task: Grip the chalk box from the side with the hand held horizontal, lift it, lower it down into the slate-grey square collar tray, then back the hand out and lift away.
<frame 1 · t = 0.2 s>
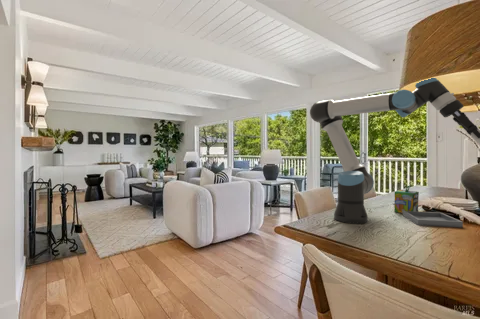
collar tray: (430, 221, 118), on the table
chalk box: (406, 212, 135), on the table
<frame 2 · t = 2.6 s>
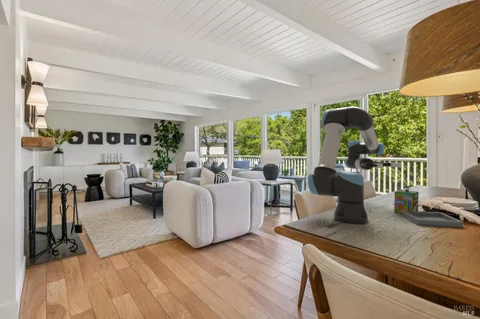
hand: (391, 165, 144), 25 cm above the table, tool horizontal, fingers open, 13 cm apart
nothing on the table moved.
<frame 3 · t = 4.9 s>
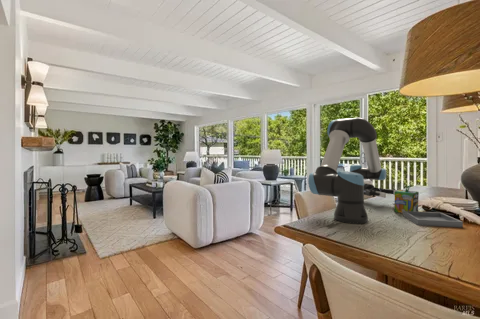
hand: (394, 194, 142), 8 cm above the table, tool horizontal, fingers open, 13 cm apart
nothing on the table moved.
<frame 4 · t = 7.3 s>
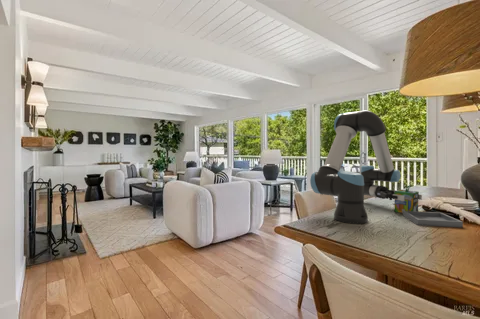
hand: (412, 197, 131), 9 cm above the table, tool horizontal, fingers closed on chalk box, 11 cm apart
chalk box: (406, 212, 135), on the table, touching gripper
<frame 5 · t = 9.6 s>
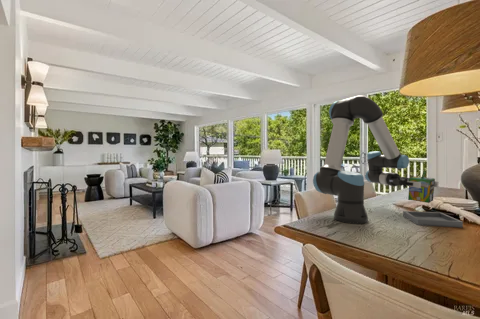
hand: (429, 184, 122), 17 cm above the table, tool horizontal, fingers closed on chalk box, 11 cm apart
chalk box: (420, 200, 126), point 8 cm above the table, touching gripper
when the fingers open (10 cm above the table, at t = 12.2 s): chalk box drops 1 cm, resting on collar tray.
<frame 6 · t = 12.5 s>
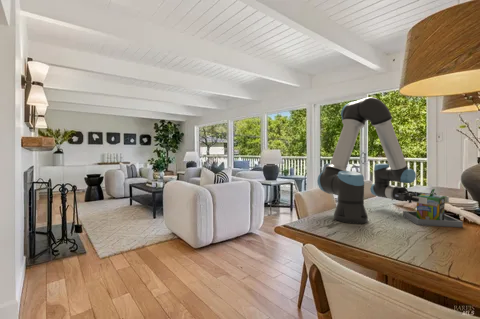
hand: (437, 200, 114), 10 cm above the table, tool horizontal, fingers open, 13 cm apart
chalk box: (430, 220, 118), resting on collar tray
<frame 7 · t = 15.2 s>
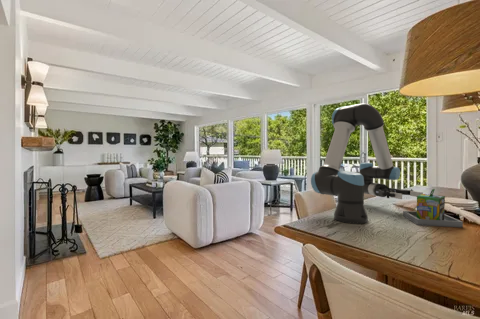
hand: (412, 195, 126), 11 cm above the table, tool horizontal, fingers open, 13 cm apart
nothing on the table moved.
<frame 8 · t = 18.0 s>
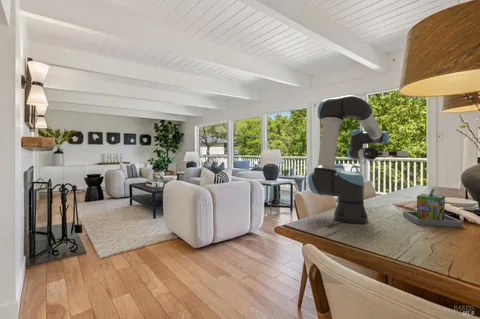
hand: (398, 153, 134), 32 cm above the table, tool horizontal, fingers open, 13 cm apart
nothing on the table moved.
at the end: chalk box inside the target area on the collar tray (0.0 cm from its centre), point 0.4 cm above the collar tray's base; chalk box tilted 0°; the gripper is holding nothing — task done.
